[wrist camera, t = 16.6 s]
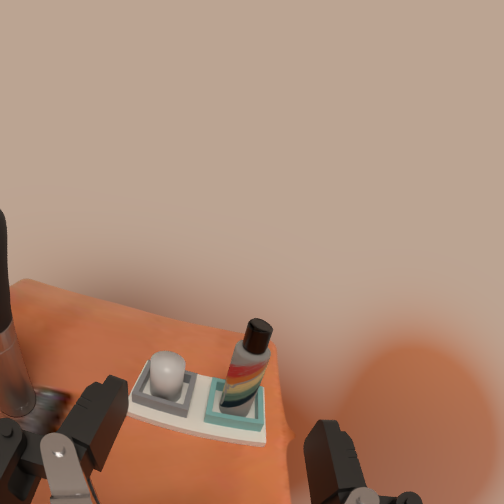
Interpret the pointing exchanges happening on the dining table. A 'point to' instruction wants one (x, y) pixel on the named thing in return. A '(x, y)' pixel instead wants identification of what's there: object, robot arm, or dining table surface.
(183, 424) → the tray
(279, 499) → the dining table surface
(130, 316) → the dining table surface
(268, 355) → the lotion bottle
